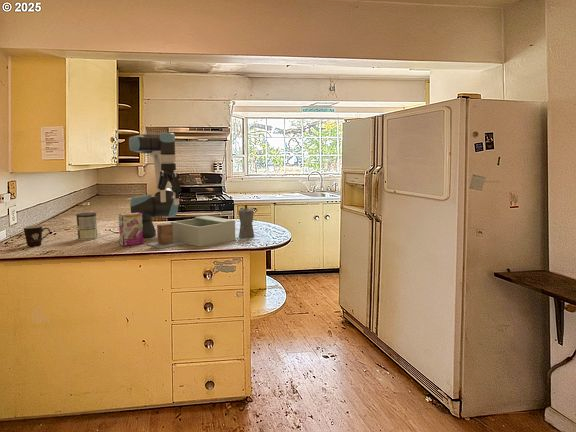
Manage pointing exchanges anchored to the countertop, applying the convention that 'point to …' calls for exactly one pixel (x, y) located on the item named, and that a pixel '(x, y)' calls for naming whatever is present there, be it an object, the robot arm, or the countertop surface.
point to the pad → (165, 245)
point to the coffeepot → (246, 222)
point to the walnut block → (165, 234)
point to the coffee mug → (34, 235)
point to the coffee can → (87, 226)
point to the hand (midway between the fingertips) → (169, 203)
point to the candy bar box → (131, 229)
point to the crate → (203, 230)
